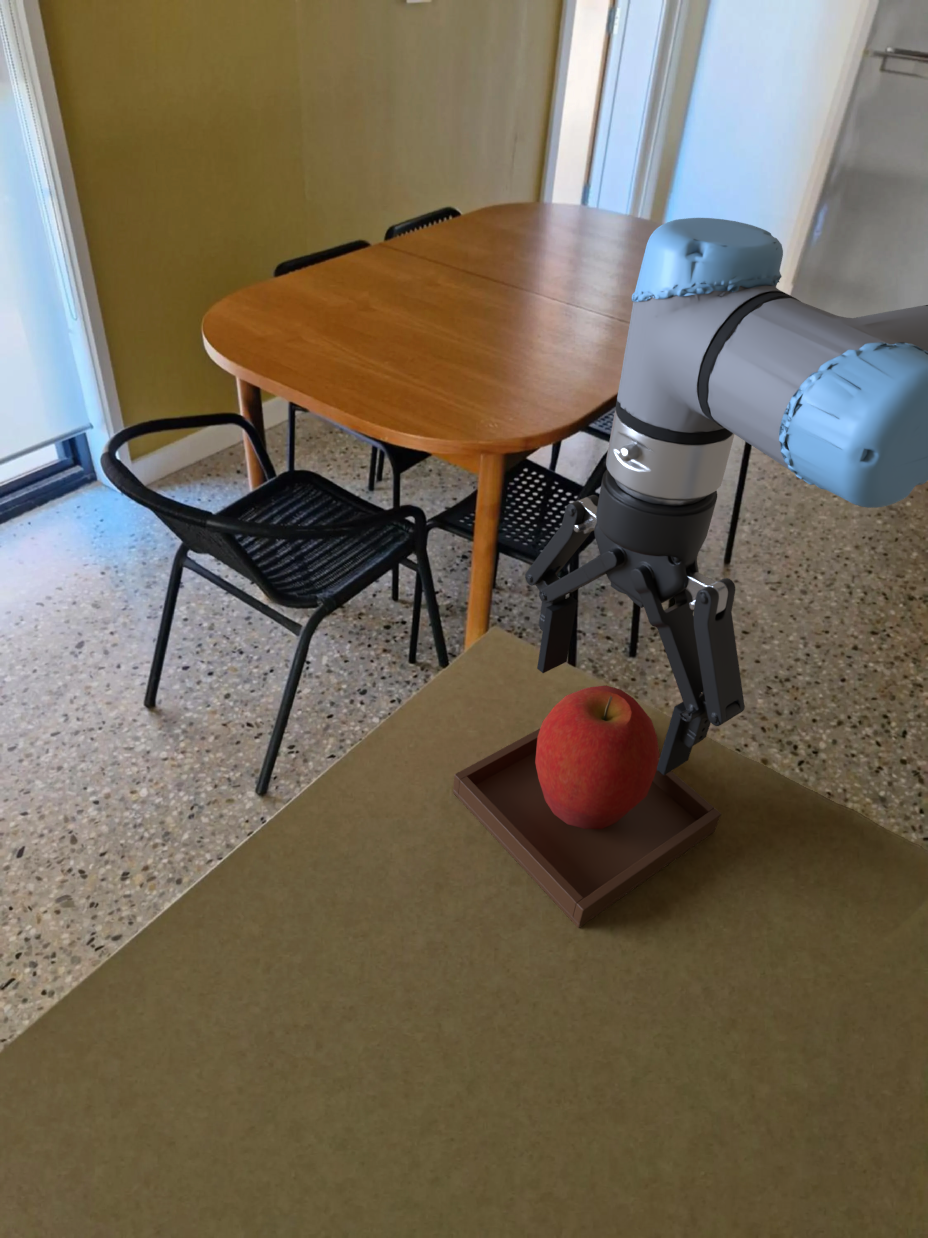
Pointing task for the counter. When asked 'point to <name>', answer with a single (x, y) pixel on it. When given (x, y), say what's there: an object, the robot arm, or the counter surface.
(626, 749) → the apple
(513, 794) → the tray
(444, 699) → the counter surface
